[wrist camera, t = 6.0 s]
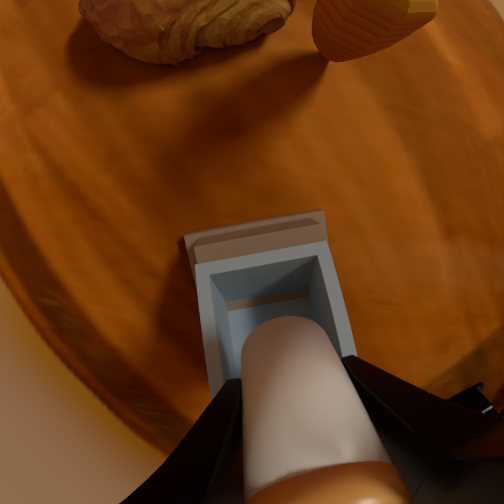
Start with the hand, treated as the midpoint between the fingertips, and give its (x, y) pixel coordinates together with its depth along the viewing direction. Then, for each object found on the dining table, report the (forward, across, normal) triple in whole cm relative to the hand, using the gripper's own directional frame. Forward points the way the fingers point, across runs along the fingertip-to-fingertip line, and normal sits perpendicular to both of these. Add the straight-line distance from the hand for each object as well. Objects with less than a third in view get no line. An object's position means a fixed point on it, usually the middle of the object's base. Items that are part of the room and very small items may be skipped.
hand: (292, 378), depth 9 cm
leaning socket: (+12, 0, +2) cm, 12 cm away
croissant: (+12, +2, -22) cm, 25 cm away
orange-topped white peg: (+1, 0, 0) cm, 1 cm away
